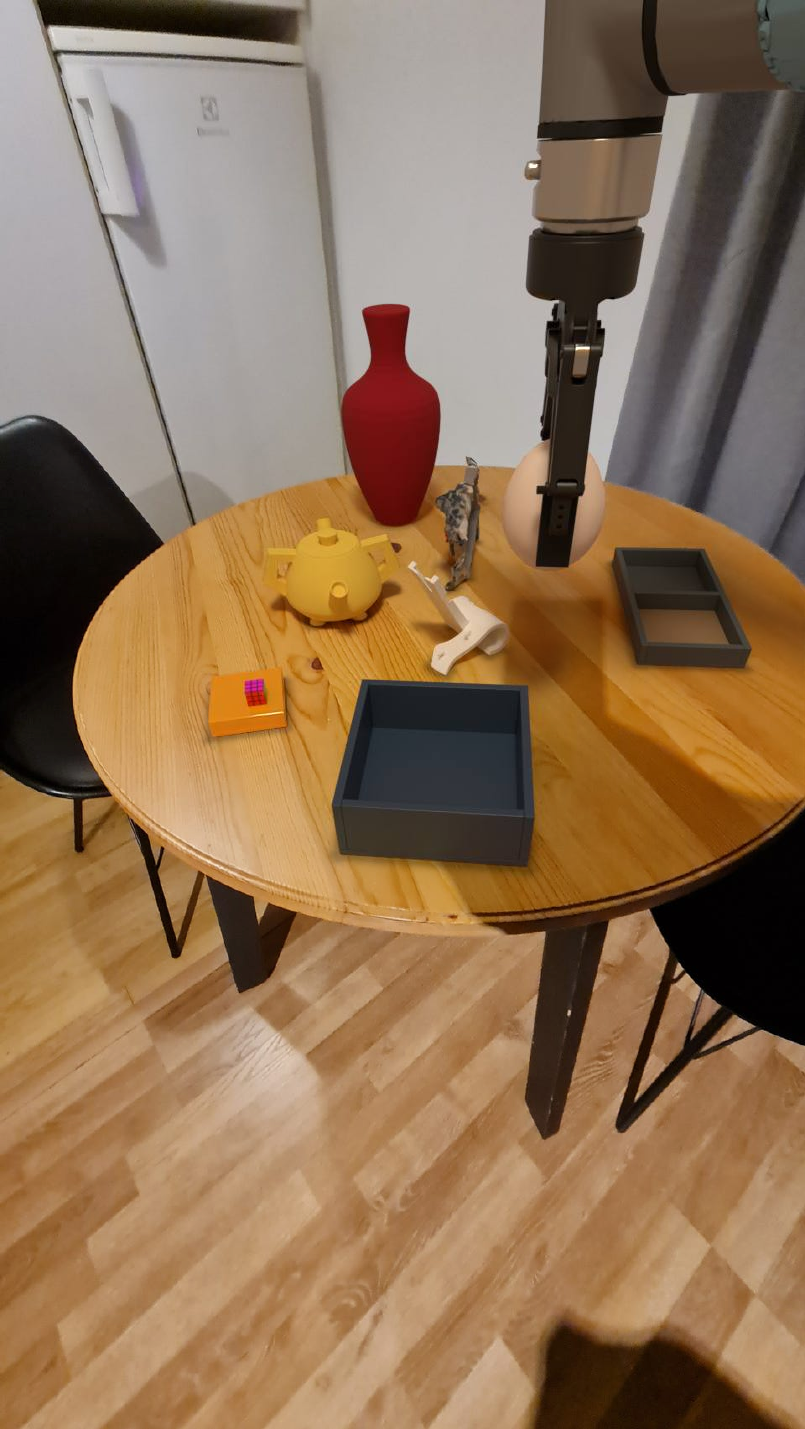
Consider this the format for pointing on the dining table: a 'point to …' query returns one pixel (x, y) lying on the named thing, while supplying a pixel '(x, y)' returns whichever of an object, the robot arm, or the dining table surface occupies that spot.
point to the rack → (677, 609)
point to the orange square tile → (247, 702)
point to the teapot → (331, 573)
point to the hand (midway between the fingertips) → (549, 538)
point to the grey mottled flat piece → (461, 522)
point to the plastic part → (461, 625)
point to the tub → (437, 773)
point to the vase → (391, 422)
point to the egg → (526, 505)
